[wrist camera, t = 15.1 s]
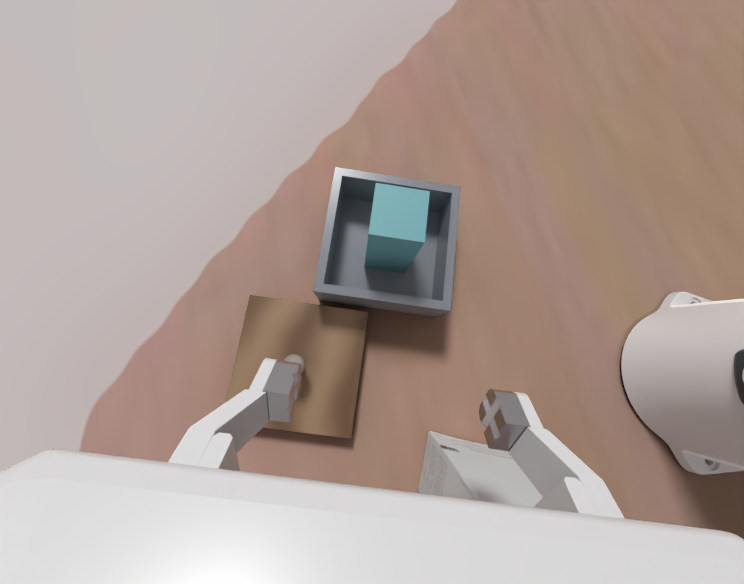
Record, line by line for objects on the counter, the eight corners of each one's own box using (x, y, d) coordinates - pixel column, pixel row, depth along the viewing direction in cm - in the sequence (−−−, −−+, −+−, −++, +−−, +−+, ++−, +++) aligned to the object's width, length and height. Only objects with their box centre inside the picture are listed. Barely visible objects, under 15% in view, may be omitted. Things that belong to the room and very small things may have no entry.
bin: (444, 210, 34) (460, 186, 29) (435, 316, 31) (450, 310, 26) (338, 193, 33) (335, 167, 28) (319, 300, 31) (313, 290, 26)
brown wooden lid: (367, 313, 31) (370, 307, 26) (351, 434, 28) (350, 451, 23) (255, 297, 30) (236, 288, 25) (228, 418, 28) (202, 432, 23)
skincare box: (503, 446, 29) (656, 544, 14) (496, 513, 28) (654, 693, 13) (423, 428, 29) (494, 509, 14) (411, 494, 28) (477, 657, 13)
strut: (408, 235, 32) (429, 191, 23) (404, 272, 31) (424, 242, 22) (369, 229, 32) (375, 182, 23) (364, 267, 31) (368, 233, 22)
